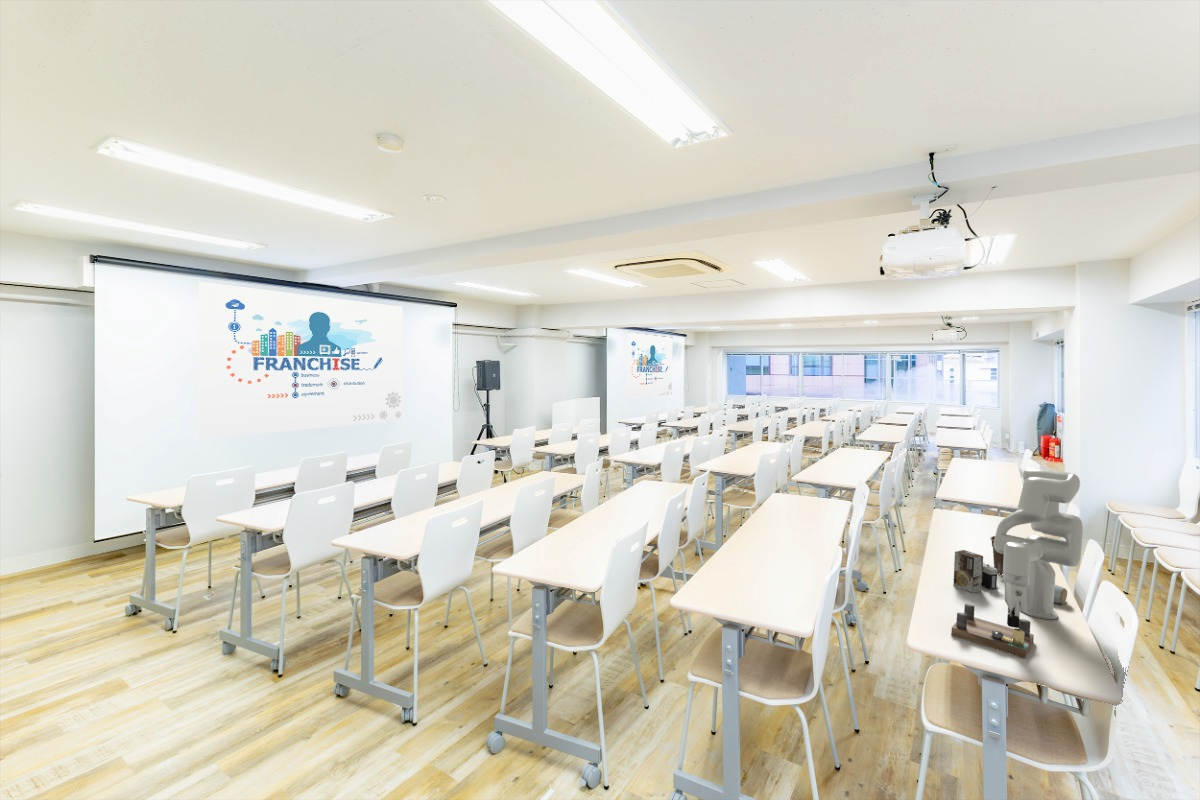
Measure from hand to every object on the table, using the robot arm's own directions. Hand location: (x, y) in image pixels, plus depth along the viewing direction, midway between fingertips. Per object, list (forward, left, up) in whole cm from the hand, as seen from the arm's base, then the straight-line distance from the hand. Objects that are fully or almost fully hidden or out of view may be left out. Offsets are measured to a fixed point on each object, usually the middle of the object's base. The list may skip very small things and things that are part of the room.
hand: (1012, 626), depth 196 cm
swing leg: (+7, 0, -3) cm, 8 cm away
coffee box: (-46, -24, -7) cm, 52 cm away
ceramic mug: (-59, +5, -7) cm, 60 cm away
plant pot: (-83, -15, -7) cm, 85 cm away
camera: (-59, -20, -7) cm, 62 cm away
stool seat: (+1, -6, -7) cm, 9 cm away
